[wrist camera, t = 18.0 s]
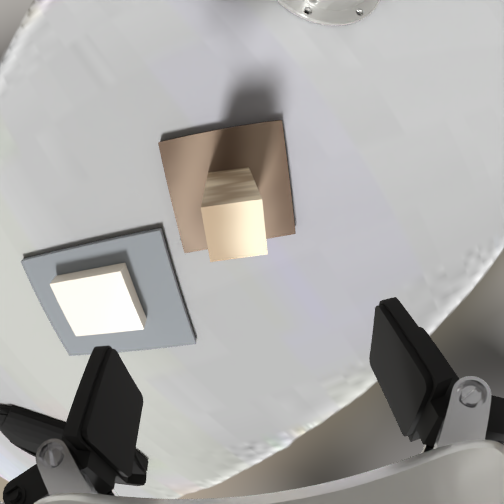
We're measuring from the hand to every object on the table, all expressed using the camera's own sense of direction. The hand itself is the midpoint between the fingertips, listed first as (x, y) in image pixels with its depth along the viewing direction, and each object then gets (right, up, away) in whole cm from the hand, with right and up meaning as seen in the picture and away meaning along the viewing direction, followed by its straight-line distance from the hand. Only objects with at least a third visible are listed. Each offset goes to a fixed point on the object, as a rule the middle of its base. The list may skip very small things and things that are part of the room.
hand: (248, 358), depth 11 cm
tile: (-18, -2, +24) cm, 30 cm away
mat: (-18, -3, +26) cm, 32 cm away
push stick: (-2, +10, +21) cm, 23 cm away
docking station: (-43, -41, +43) cm, 74 cm away
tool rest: (-2, +10, +21) cm, 24 cm away
